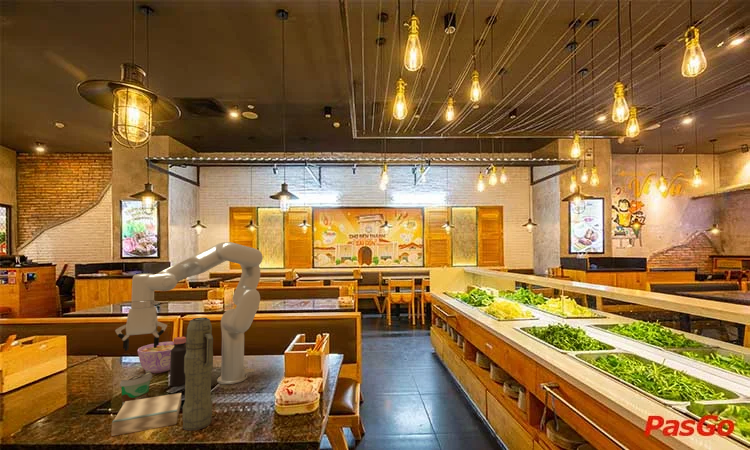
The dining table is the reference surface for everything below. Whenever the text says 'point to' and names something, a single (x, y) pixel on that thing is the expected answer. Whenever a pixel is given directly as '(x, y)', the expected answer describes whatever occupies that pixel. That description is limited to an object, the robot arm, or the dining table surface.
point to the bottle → (178, 362)
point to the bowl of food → (156, 357)
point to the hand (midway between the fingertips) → (141, 348)
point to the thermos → (198, 374)
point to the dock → (147, 414)
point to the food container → (136, 387)
